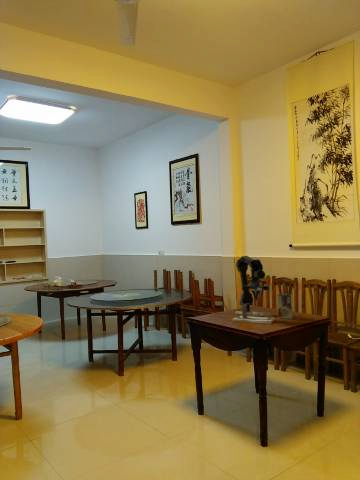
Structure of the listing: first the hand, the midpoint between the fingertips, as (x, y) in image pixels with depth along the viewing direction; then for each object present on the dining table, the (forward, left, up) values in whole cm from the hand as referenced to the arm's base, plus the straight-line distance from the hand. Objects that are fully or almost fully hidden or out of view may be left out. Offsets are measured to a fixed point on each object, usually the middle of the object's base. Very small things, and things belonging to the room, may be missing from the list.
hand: (256, 300), depth 272 cm
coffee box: (-8, +18, -13) cm, 24 cm away
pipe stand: (+7, -1, -13) cm, 15 cm away
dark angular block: (+7, -7, -11) cm, 14 cm away
